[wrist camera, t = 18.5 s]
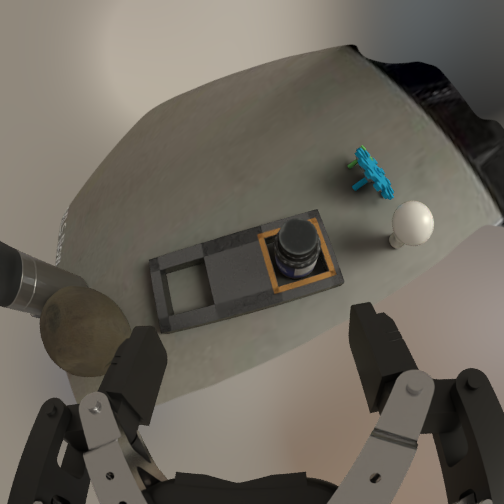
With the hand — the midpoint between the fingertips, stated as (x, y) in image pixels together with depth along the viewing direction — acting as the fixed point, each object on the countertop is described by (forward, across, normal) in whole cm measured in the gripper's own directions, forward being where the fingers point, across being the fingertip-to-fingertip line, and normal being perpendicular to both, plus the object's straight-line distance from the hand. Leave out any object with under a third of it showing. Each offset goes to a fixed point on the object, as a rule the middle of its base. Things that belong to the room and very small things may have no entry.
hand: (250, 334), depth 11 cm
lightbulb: (+30, -21, +13) cm, 39 cm away
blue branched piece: (+39, -20, +5) cm, 44 cm away
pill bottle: (+30, -4, +14) cm, 33 cm away
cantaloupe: (+23, +28, +20) cm, 42 cm away
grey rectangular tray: (+29, +4, +15) cm, 33 cm away
